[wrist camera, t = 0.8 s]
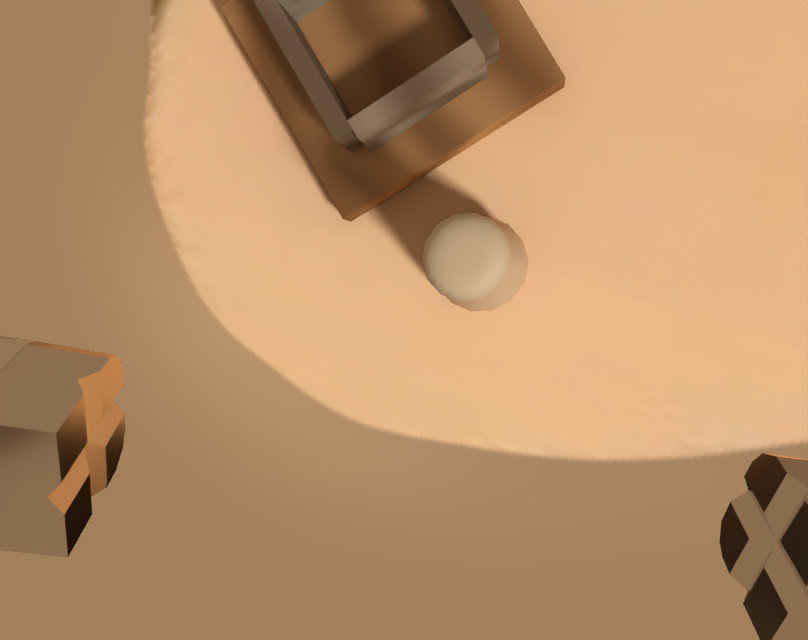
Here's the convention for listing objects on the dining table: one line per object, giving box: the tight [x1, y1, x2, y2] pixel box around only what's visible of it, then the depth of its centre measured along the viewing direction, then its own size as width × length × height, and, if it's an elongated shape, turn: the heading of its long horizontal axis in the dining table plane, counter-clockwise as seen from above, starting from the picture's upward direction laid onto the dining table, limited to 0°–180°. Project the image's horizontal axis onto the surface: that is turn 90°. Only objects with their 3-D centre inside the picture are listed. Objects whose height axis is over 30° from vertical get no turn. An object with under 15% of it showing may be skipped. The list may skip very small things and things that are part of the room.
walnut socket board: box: [220, 0, 565, 222], centre depth 44 cm, size 16×16×6 cm
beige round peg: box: [422, 213, 528, 311], centre depth 40 cm, size 6×6×13 cm
